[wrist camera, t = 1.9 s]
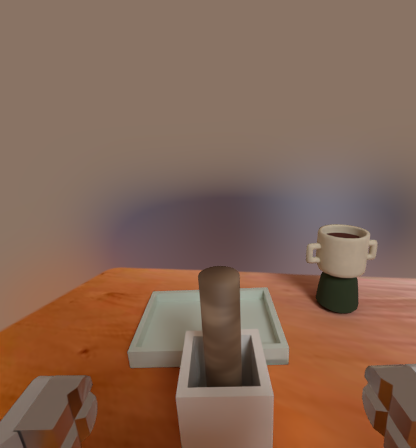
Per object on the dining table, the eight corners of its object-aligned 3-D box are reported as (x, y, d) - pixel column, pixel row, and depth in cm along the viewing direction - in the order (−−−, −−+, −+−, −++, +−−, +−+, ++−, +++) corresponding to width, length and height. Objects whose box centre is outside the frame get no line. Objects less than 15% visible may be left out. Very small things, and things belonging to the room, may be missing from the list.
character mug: (356, 291, 47) (365, 222, 43) (382, 316, 40) (395, 236, 36) (296, 295, 47) (299, 226, 43) (311, 320, 40) (317, 241, 36)
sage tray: (130, 367, 33) (127, 352, 33) (154, 303, 47) (153, 291, 46) (288, 364, 33) (289, 348, 32) (267, 300, 46) (267, 287, 45)
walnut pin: (209, 444, 24) (196, 286, 19) (209, 409, 27) (199, 266, 22) (244, 443, 23) (241, 285, 19) (241, 408, 26) (237, 265, 22)
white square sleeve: (185, 478, 22) (175, 397, 19) (192, 398, 29) (186, 330, 26) (271, 478, 22) (273, 395, 19) (258, 397, 29) (258, 328, 26)
